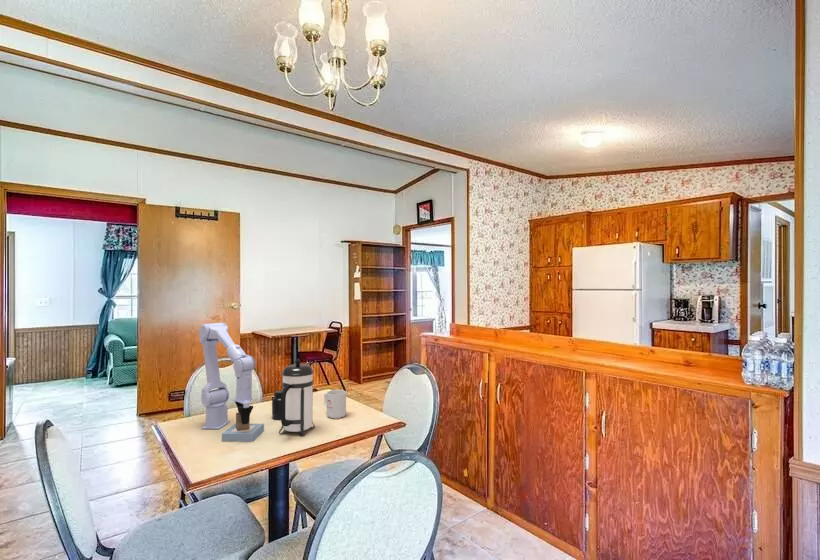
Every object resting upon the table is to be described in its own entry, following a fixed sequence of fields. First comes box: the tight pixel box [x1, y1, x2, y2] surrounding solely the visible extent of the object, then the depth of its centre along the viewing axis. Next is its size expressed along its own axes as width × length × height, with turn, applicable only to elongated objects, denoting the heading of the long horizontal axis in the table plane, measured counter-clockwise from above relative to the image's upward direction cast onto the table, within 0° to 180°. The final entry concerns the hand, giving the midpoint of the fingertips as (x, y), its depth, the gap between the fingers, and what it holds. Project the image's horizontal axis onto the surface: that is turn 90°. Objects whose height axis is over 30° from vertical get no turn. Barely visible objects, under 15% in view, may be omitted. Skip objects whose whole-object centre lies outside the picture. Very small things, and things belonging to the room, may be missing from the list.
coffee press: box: [278, 358, 316, 437], centre depth 172 cm, size 17×16×30 cm
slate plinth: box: [221, 422, 265, 443], centre depth 167 cm, size 12×12×3 cm
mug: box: [323, 389, 347, 419], centre depth 194 cm, size 12×9×11 cm
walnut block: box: [235, 412, 251, 431], centre depth 167 cm, size 4×4×6 cm
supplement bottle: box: [271, 389, 282, 421], centre depth 190 cm, size 7×7×12 cm
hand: (243, 421), depth 167 cm, fingers open, 7 cm apart
